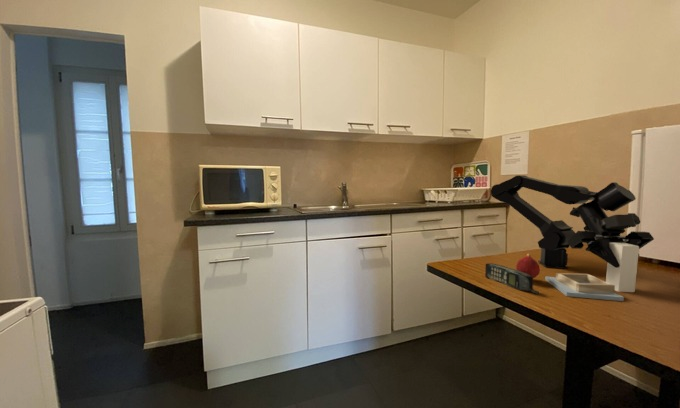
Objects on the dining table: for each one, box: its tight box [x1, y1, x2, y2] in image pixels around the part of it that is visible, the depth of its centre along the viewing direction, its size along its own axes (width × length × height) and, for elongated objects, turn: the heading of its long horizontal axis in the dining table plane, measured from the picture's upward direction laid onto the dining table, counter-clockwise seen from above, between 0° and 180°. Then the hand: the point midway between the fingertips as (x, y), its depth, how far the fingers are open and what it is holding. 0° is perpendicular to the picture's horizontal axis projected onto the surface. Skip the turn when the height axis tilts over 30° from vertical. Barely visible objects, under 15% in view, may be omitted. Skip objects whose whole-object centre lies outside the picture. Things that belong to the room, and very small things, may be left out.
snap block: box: [605, 243, 640, 293], centre depth 76 cm, size 4×4×12 cm
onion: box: [515, 253, 541, 279], centre depth 82 cm, size 6×6×8 cm
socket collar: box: [555, 272, 615, 293], centre depth 76 cm, size 9×9×2 cm
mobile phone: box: [484, 262, 540, 295], centre depth 79 cm, size 5×3×15 cm
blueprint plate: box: [545, 275, 625, 302], centre depth 76 cm, size 12×12×1 cm
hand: (626, 267), depth 74 cm, fingers closed on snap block, 4 cm apart
